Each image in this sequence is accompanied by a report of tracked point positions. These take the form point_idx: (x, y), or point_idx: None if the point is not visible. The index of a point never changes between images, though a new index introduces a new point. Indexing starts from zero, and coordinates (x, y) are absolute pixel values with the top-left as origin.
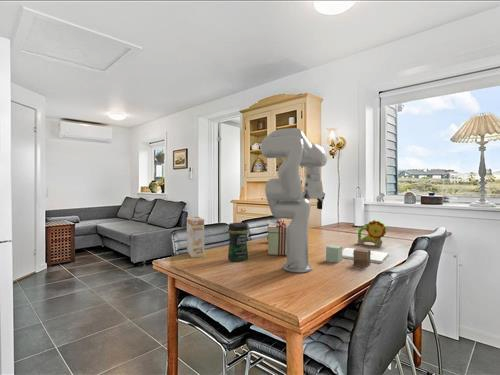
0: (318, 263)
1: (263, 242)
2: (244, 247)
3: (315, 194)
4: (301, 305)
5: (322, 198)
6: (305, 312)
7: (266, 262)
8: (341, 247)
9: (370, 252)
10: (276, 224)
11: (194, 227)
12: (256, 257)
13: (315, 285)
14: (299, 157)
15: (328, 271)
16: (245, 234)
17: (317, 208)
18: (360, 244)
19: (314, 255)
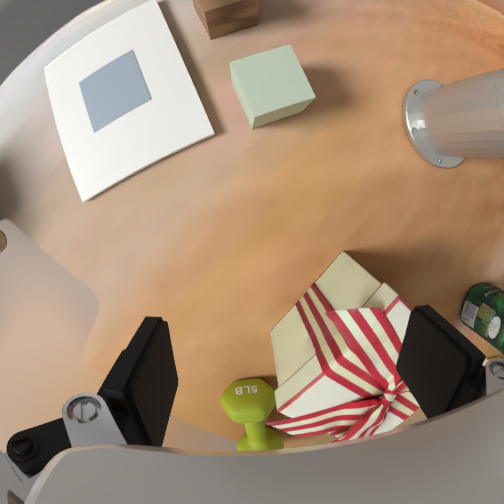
0: (350, 110)
1: (284, 439)
2: (501, 297)
3: (494, 501)
4: (498, 24)
5: (52, 449)
6: (498, 14)
7: (458, 235)
8: (245, 59)
9: (74, 93)
10: (394, 406)
11: None
12: (442, 299)
13: (457, 31)
14: None
15: (381, 43)
16: None
17: (177, 378)
18: (5, 237)
19: (275, 203)
